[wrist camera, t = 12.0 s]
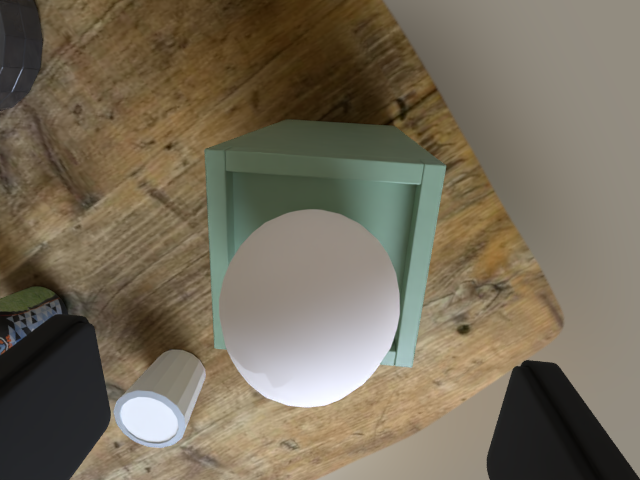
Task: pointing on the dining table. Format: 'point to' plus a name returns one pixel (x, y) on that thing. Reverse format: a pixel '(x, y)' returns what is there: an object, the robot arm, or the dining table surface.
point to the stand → (329, 200)
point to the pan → (18, 50)
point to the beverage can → (26, 313)
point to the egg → (309, 307)
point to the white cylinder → (161, 400)
